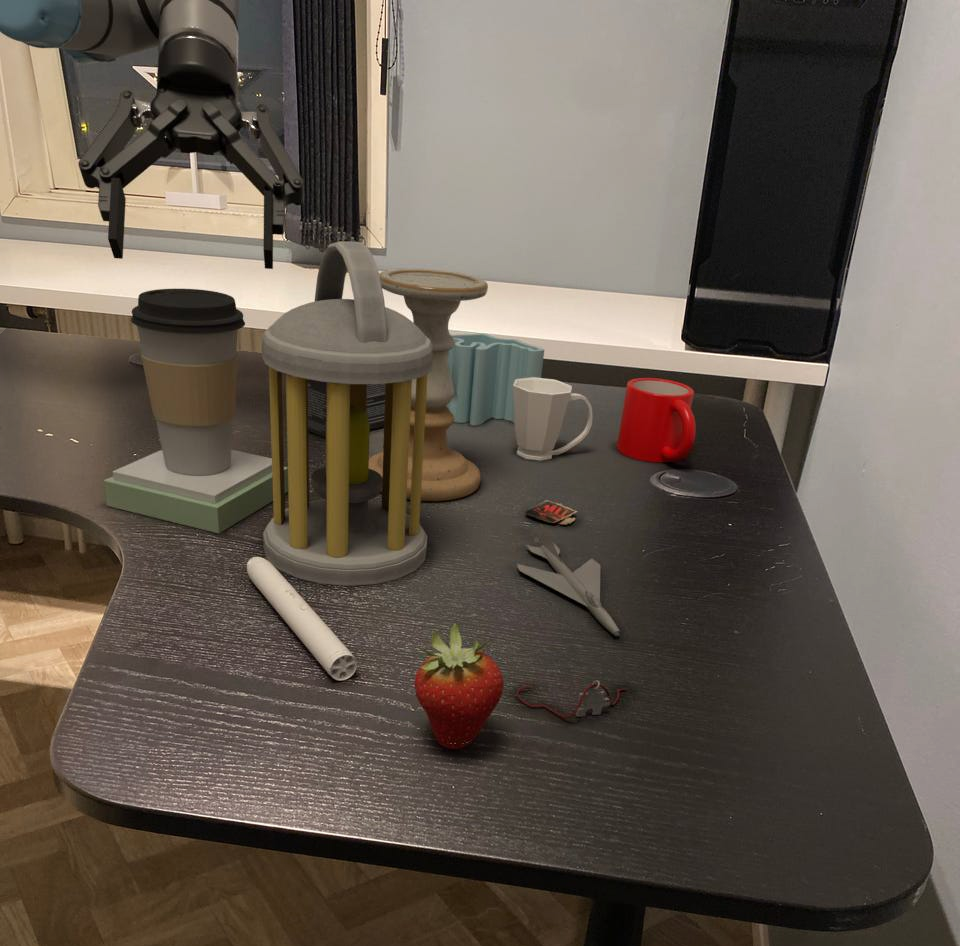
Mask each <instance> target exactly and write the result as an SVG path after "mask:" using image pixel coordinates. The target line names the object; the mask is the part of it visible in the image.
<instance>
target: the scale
mask: <svg viewBox="0 0 960 946" xmlns="http://www.w3.org/2000/svg"><path fill="white" fill-rule="evenodd" d="M284 486H285V494H287V493H288V466H284ZM103 487H104V495H105V502H106V506H107V507H109V508H110V507H111V508H114V509H118V510H123V511H126V512H129V513H134V514H137V515H142V516H147V517H151V518H154V519H158V520H163V521H166V522H171V523H175V524H178V525H183V526H186V527H190V528H195V529H198V530H203V531H206V532H209V533H210V532H211V533H215V534H221V533H223V532H224V531H226V530H227V529H229V528H231V527H232V526H234V525H236V524H238V523H239V522H241V521H242V520H244V519H246V518H247V517H249V516H250V515H252V514H254V513H256V512H257V511H259V510H260V509H262V508H264V507H265V506H267V505H269V504H270V503H272V502H273V480H272V457H266V456H262V455H257V454H253V453H249V452H244V451H240V450H237V449H236V450H235V449H231V464H230V466H229V468H227V469H226V470H225V471H223V472H220V473H217V474H213V475H205V476H194V475H184V474H179V473H176V472H173V471H170V470H169V469H167V467H166V465H165V461H164V456H163V451H162V449H161V450H158V451H155V452H153V453H151V454H149V455H147V456H144V457H142V458H140V459H138V460H135V461H133V462H131V463H128V464H126V465H124V466H122V467H119V468H117V469H115V470H112V476H110V477H108V478H106V479H104V480H103Z"/></svg>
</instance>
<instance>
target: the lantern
mask: <svg viewBox="0 0 960 946" xmlns="http://www.w3.org/2000/svg"><path fill="white" fill-rule="evenodd" d="M347 273H348V276H349V280H350V286H351V291H352V296H353V299H352V298H343V296H344V288H345V282H346V275H347ZM379 273H380V272H379V270H378V266H377V264H376V261H375V259H374V257H373V254H372V252H371V251H370V249H369V248H368V247H367V246H366V245H365V244H364V243H363V242H359V241H344V240H343V241H336V242H332V243H329V244H328V246H327V247H326V249H325V251H324V253H323V255H322V257H321V260H320V264H319V268H318V273H317V276H316V284H315V292H314V301H311V302H307V303H304V304H302V305H299V306H296V307H294V308H291V309H289V310H288V311H286V312H284V313H283V314H281V316H280V317H279V318H277V319H276V320H275V322H273V323H272V324H271V325H270V326H269V327H268V328H267V329H265V331H264V333H263V334H262V339H261V357H262V360H263V362H264V365H266V366H268V382H269V413H270V415H269V416H270V442H271V443H270V444H271V445H270V446H271V447H270V448H271V449H270V450H271V458H272V480H273V501H272V502H273V503H272V508H273V509H272V510H273V511H272V512H273V517H272V518H271V520H270V521H269V522H268V523H267V525H266V527H265V529H264V531H263V533H262V542H263V550H264V555H265V559H266V560H268V561H269V562H270V563H271V564H272V565H273V566H274V567H275V568H276V569H277V570H278V571H281V572H283V573H285V574H287V575H290V576H292V577H294V578H296V579H300V580H304V581H308V582H312V583H317V584H320V585H331V586H344V587H345V586H346V587H352V586H366V585H368V586H369V585H377V584H382V583H385V582H389V581H394V580H399V579H401V578H403V577H405V576H407V575H409V574H411V573H414V572H416V571H417V569H419V568H420V567H421V565H422V564H424V562H425V561H426V557H427V549H428V535H427V533H426V531H425V530H424V528H423V526H422V525H421V524H420V519H421V518H420V517H421V502H422V501H421V484H422V466H423V448H424V430H425V412H426V394H427V376H428V373H429V372H431V369H432V362H433V347H432V344H431V341H430V340H429V339H428V338H427V337H426V336H425V335H424V333H423V332H422V331H421V330H420V329H419V328H418V327H417V326H416V325H415V324H414V323H413V320H411V319H409V318H408V317H407V316H405V315H404V314H402V313H401V312H398V311H397V310H394V309H392V308H389V307H387V306H386V303H385V296H384V291H383V290H384V289H383V288H382V285H381V281H380V276H379ZM283 374H285V397H286V399H285V402H286V406H285V407H286V443H287V445H286V446H287V447H286V448H287V449H286V450H287V467H288V492H287V493H288V507H286V493H285V486H284V467H285V456H284V455H285V454H284V453H285V452H284V450H285V449H284V447H285V446H284V412H283V411H284V409H283V407H284V406H283ZM416 378H417V380H416V401H415V421H414V441H413V461H412V481H411V500H410V501H409V514H408V513H407V499H406V497H407V476H408V454H409V433H410V412H411V391H412V379H416ZM308 379H311V380H316V381H322V382H327V420H326V438H325V466H323V467H320V468H318V469H316V470H315V471H312V474H311V476H310V459H309V458H310V455H309V451H310V450H309V448H310V447H309V445H310V444H309V431H308ZM385 383H386V386H385V417H384V427H383V450H382V452H383V478H382V476H381V475H380V474H379V473H378V472H376V471H374V470H372V469H369V459H370V431H371V430H370V424H369V419H368V416H367V415H366V402H367V384H385ZM310 484H311V486H312V488H313V491H314V493H315V494H316V495H317V496H318V497H320V498H321V499H318V500H313V501H310ZM381 488H382V492H380V491H381ZM380 493H381V503H380V502H375V501H371V500H374V499H375V498H377V497H378V496H379V495H380Z"/></svg>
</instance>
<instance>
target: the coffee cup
mask: <svg viewBox="0 0 960 946" xmlns="http://www.w3.org/2000/svg"><path fill="white" fill-rule="evenodd" d="M131 314H132V315H131V318H130V322H131V323H132V324H133V325H134V326H136V327H137V330H138V331H137V333H138V337H139V342H140V347H141V352H140V357H141V361H142V366H143V373H144V375H145V380H146V386H147V392H148V396H149V402H150V407H151V410H152V415H153V417H154V419H155V423H156V427H157V431H158V432H157V433H158V437H159V441H160V447H161V450H162V451H163V456H164V461H165V465H166V467H167V469H169V470H170V471H173V472H176V473H179V474H184V475H194V476H205V475H213V474H217V473H220V472H223V471H225V470H226V469H227V468H229V466H230V464H231V450H233V449H232V448H233V431H234V430H233V428H234V417H235V415H236V403H237V387H238V385H237V384H238V368H239V367H238V366H239V353H238V352H237V351H238V348H237V347H238V330H240V329H242V328H244V327H245V325H246V321H244V313H243V312H242V311H241V310H239V309H237V304H236V299H235V297H233V296H232V295H229V294H227V293H223V292H219V291H214V290H208V289H197V288H161V289H160V288H159V289H158V288H157V289H151V290H146V291H143V292H141V293H140V294H139V295H138V298H137V305H136V306H135V307H133V308H132V309H131Z"/></svg>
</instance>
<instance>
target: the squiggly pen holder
mask: <svg viewBox="0 0 960 946" xmlns="http://www.w3.org/2000/svg"><path fill="white" fill-rule="evenodd" d="M450 335H451V336H452V337H453V338H454V340H455V346H454V347H453V348H452V349H451V350H449V353H448V354H449V366H450V373H451V378H452V382H453V386H454V397H453V399H452V400H451V402H450V403H448V404H447V405H446V407H447V408H448V409H449V410H450V412H451V413H452V414H453V416H454V422H453V423H458V424H461V423H462V424H463V423H465V424H466V423H468V422H469V425H470V426H474V427H475V426H480V425H483V424H484V423H485V422H486V421H488V420H489V419H492V418H493V419H495V420H505V421H508V422H509V421H510V422H512V423H513V424H514V398H513V384H514V382H515V379H522V378H531V377H537V378H542V375H543V374H542V373H543V366H544V365H543V364H544V357H545V349H544V348H543V347H539V346H536V345H533V344H529V343H526V342H524V341H521V340H520V339H515V338H500V337H497V336H496V337H495V336H492V335H491V334H487V333H469V334H467V333H465V334H450Z"/></svg>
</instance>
